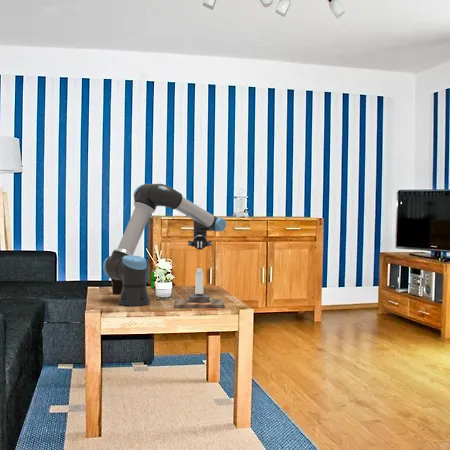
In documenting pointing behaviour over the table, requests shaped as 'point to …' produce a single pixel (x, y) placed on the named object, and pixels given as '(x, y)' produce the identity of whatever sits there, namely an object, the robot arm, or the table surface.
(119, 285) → the coffee mug
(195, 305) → the switch base
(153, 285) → the puzzle cube
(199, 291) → the switch lever
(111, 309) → the table surface
